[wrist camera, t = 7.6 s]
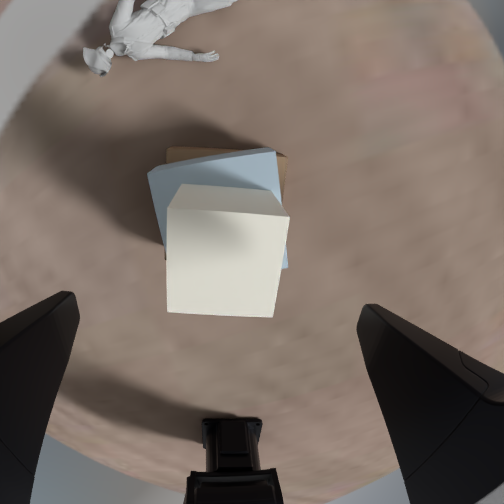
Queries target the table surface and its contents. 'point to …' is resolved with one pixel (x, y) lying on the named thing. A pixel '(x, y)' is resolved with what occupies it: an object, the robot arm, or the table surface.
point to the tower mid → (215, 178)
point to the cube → (224, 250)
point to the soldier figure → (149, 32)
